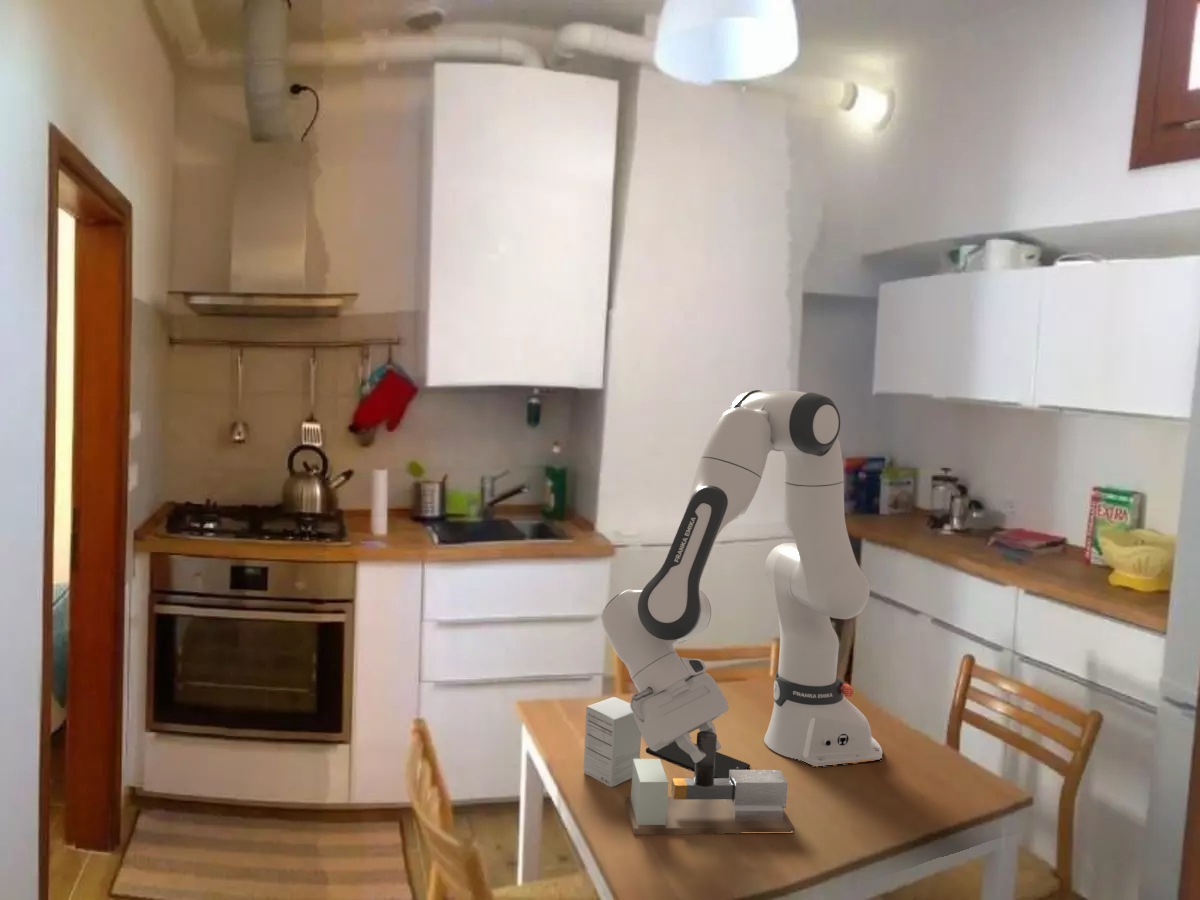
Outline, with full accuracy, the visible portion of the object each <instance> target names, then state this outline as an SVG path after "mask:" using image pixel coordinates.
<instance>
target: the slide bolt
mask: <svg viewBox="0 0 1200 900" xmlns="http://www.w3.org/2000/svg"><path fill="white" fill-rule="evenodd" d="M717 740H718V735H717V733H716V734H715V733H713V732H709V731H700V730H699V731H698V732H697V734H696V743H695V744H696V746H697V747H698V748H699V747H702V749H703V751H704V752H705V754H706V757H705V758H704V759H702V760H701V761H699V762H697V763H695V771H693V772H694V774H693V775H694V776H693V777H692V778H690V777H689V778H688V777H687V778H686V777H685V778H684V777H683V778H678V777H677V778H675V777H673V778H672V779H671V792H670V793H671V796H672V797H673V798H674V799H734V790H735V783H734V782H733V780H732V778H714V770H715V756H716V752H717V751H716V742H717Z"/></svg>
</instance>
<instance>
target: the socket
mask: <svg viewBox="0 0 1200 900" xmlns="http://www.w3.org/2000/svg"><path fill="white" fill-rule="evenodd" d="M630 788H631V789H630V790H631V791H630V797H631V803H632V806H633V810H634V814H635V817H636V821H637V825H666V810H667V797H668V791H669V780H668V778H667V774H666V772H665V770H664V766H663V764H662V761H661V758H640V759H633V770H632V778H631V787H630Z"/></svg>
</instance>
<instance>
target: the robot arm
mask: <svg viewBox="0 0 1200 900" xmlns="http://www.w3.org/2000/svg"><path fill="white" fill-rule="evenodd" d="M840 429H841V416H840V413H839V410H838V408H837V406H836V404H835V402H834V401H833V400H832V399H831V398H829V397H828V396H825V395H823V394H820V393H817V392H805V391H800V390H790V389H780V390H758V389H756V390H750V391H746V392H743V393H741V394H739V395H738V396H737V397H736V398H735V399H734V400H733V401H732V403H731V405H730V406H729V409H727V410H725V411H724V412H723V413H722V414H721V416H720V417H719V419H718V421H717V422H716V424H715V426H714V427H713V429H712V432H711V433H710V435H709V438H708V439H707V442H706V444H705V447H704V448H703V451H702V454H701V456H700V459H699V462H698V465H697V467H696V471H695V474H694V478H693V482H692V487H691V490H690V494H689V498H688V501H687V506H686V509H685V512H684V514H683V517H682V519H681V521H680V524H679V527H678V528H677V531H676V533H675V536H674V538H673V541H672V543H671V546H670V548H669V550H668V553H667V556H666V559H665V560H664V562H663V564H662V566H661V567H660V569H659V571H657V573H656V574H655V575H654V577H652V578H651V579H650V580H649V581H648V583H647V584H646V585H645V586H644V588H642V589H633V588H632V589H631V588H628V589H625V590H622V591H621V592H620V593H618V594H616V595H615V596H614V597H613V598H612V599H611V600H610V601H609V602H608V603H606V605H605V606H604V609H603V610H602V613H601V618H600V619H601V625H602V628H603V630H604V632H605V636H606V637H607V638H608V641H609V643H610V645H611V646H612V648H613V650H614V652H615V653H616V656H617V657H618V658H619V660H621V661H622V663H624V665H625V666H626V668H627V670H628V672H629V676H630V679H631V680H632V682H633V683H634V686H635V687H636V689H637V691H638V692H636V693H634V694H633V695H632V696H631V699H630V702H629V703H630V707H631V710H632V711H633V713H634V718H635V721H636V724H637V726H638V728H639V730H640V732H641V738H643V741H644V742H645V744H646V747H647V748H648V747H649V748H650V749H652V750H653V751H657V750H659V749H661V748H663V747H665V746H666V745H668V744H670V743H672V742H674V741H676V743H677V744H678V746H679V747H680V748H681V749H682V750H684V751H685V752H686V753H688V754H689V755H690V756H691V758H692V760H693V761H694V762H695V763H697V762H699V761H701V760H702V759H704V758H705V757H706V754H705V752H704V751H703V749H702V747H699V748H698V747H697V746H696V745H695V744H696V743H695V744H694V742H693V741H692V739H693V738H692V736H691V735H690V733H692V732H695V731H696V730H697V729H698V730H699V732H700V731H709V732H713V733H715V734H716V735H717V732H716V731H717V730H716V726H715V724H714V723H713V721H715V720H716V719H718V718H720V717H721V716H722V715H724V714H726V712H728V711H729V702H728V700H727V698H726V696H725V694H724V693H723V691H722V689H721V688H720V686H719V685H718V683H717V681H715V679H714V677H712V676H711V675H710V674H709V673H707V672H706V671H707V668H708V667H707V666H706V663H705V661H703V660H702V659H700V658H689V657H683V656H681V657H680V656H679V654H678V653H677V651H676V649H675V646H676V645H678V644H680V643H684V642H685V641H688V640H689V641H690V640H693V639H694V638H697V637H698V636H700V635H701V634H702V633H703V632H704V631H705V630H706V629H707V627H708V626H709V624H710V622H711V621H710V620H711V616H712V608H711V603H710V601H709V599H708V597H707V596H706V594H705V593H704V592H703V591H702V590H701V589H700V584H701V579H702V577H703V573H704V571H705V569H706V566H707V564H708V561H709V558H710V556H711V553H712V550H713V548H714V545H715V542H716V540H717V538H718V536H719V535H720V533H721V532H722V530H724V528H726V526H727V525H728V524H730V523H731V522H733V521H735V520H736V519H738V518H740V517H742V516H743V515H744V514H745V513H746V512H747V510H748V508H749V507H750V505H751V503H752V501H753V499H754V498H755V495H756V493H757V491H758V488H759V486H760V484H761V479H762V478H763V474H764V471H765V468H766V464H767V460H768V455H769V453H770V452H771V451H775V452H783V455H784V462H783V505H784V506H783V507H784V508H783V509H784V513H783V514H784V516H783V517H784V521H785V524H786V526H787V528H788V530H789V531H790V533H791V536H792V537H793V540H794V542H783V543H781V544H778V545H776V546H775V547H773V549H772V550H771V551H770V552H769V554H767V555H768V556H767V557H766V560H765V564H764V571H765V576H766V577H767V580H768V582H769V584H770V586H771V589H772V591H773V596H774V599H775V605H776V612H777V617H778V623H779V624H778V625H779V636H780V637H779V639H780V640H779V653H778V655H779V657H778V669H777V670H776V672H775V679H774V682H773V700H774V703H773V707H772V708H773V709H772V713H771V717H770V721H769V724H768V728H767V730H766V733H765V735H764V738H763V741H764V743H765V745H766V747H768V748H769V749H770V750H772V752H775V753H777V754H779V755H781V756H784V757H786V758H789V757H790V759H793V758H794V759H793V760H796V759H798V760H797V761H800V760H802V761H804V762H806V763H808V764H811V765H818V766H819V765H827V764H828V765H829V764H835V763H846V762H856V761H860V760H870V759H880V758H882V759H883V757H882V754H883V753H884V752H883V748H882V747H881V745H880V743H878V741H877V740H876V739H875V738H874V737H873V736H872V731H871V725H870V723H869V721H868V718H867V717H866V716H865V715H864V713H863V712H862V711H861V710H860V709H858V707H856V706H855V705H854V704H853V703H852V702H850V700H848V698H850V697H853V696H854V689H853V687H851V685H850V684H849V683H845V681H844V680H843V679H841V678H840V677H838V676H837V671H838V670H837V669H838V660H839V649H840V643H839V638H838V635H837V633H836V631H835V628H834V627H833V624H832V621H831V618H832V619H839V620H849V619H852V618H855V617H856V616H858V615H859V614H861V613H862V611H863V610H864V609H865V607H866V606H867V604H868V601H869V599H870V594H871V593H870V591H871V590H870V589H871V588H870V584H869V581H868V578H867V577H866V575H865V574H864V573H863V571H862V570H861V568H860V566H859V564H858V562H857V560H856V556H855V553H854V551H853V548H852V544H851V541H850V537H849V533H848V530H847V525H846V517H845V491H844V490H845V487H844V486H845V485H844V484H845V483H844V480H845V477H844V476H845V475H844V463H843V462H844V460H843V456H842V448H841V443H840V439H839V433H840V431H841V430H840ZM852 695H853V696H852ZM720 749H722V745H721V743H720V741H719V740H718V739H717V742H716V752H718V751H719V750H720ZM802 761H801V762H802ZM804 762H803V763H804ZM806 763H805V764H806ZM808 764H807V765H808Z"/></svg>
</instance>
